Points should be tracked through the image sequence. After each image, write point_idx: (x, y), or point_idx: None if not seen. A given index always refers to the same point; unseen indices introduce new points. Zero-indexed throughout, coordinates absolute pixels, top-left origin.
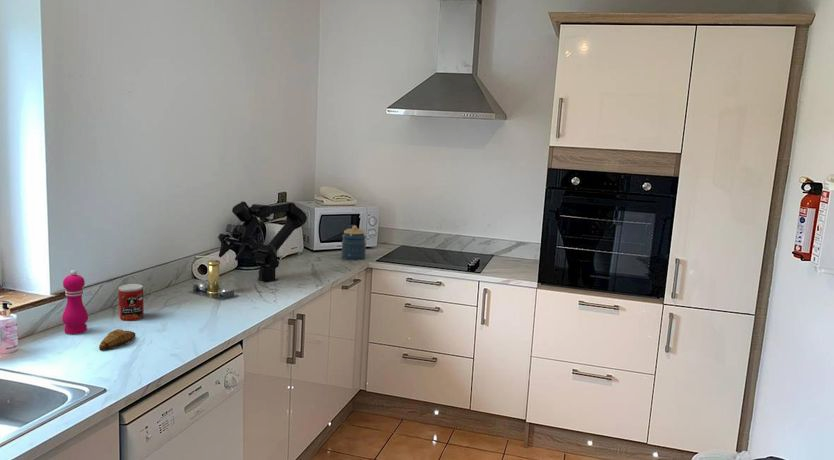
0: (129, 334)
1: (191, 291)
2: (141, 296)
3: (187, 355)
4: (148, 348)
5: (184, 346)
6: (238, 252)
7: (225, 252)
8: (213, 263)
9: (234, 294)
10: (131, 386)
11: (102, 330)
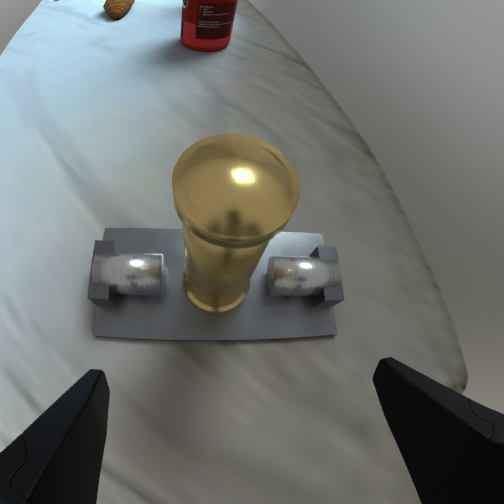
0: (107, 5)
1: (312, 240)
2: (184, 2)
3: (16, 41)
4: (71, 22)
5: (29, 44)
6: (57, 436)
7: (407, 455)
8: (191, 149)
9: (116, 329)
10: (39, 9)
11: None
